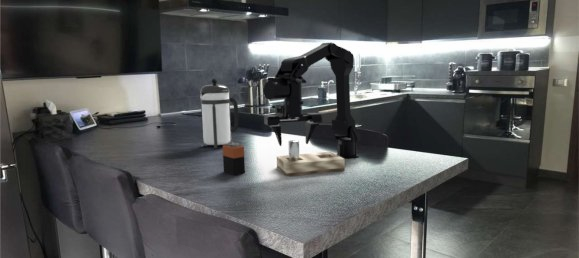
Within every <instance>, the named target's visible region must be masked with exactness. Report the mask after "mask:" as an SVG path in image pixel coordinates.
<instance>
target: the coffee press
mask: <svg viewBox="0 0 579 258" xmlns="http://www.w3.org/2000/svg"><path fill="white" fill-rule="evenodd" d="M217 82H218V80H217V79H216V78H212V80H211V83H212V84H206V85H203V86H201V88H200V90H199V93H200V95H199V96H200V108H201V109H200V110H201V112H200V113H201V128H202V129H201V130H202V132H201V133H202V142H201V143H200V147H204V145H209V146H213V149H214V150H218V146H220V145H222V146H223V145H227V144H228V143H229V142H232V144H233V143H235V142H234V141H233V139H232V133H235V132H236V131H237V130H238V127H239V121H240V120H239V107H238V102H237V100H236V99H235V98H233V97H230V92H231V91H230V89H229V87H228V86H227V85H226V84H217ZM231 103H232V106H233V115H234V116H233V118H234V120H233V121H234V124H233V127H232V126H231V123H232V120H231V119H232V118H231ZM202 143H204V145H202Z"/></svg>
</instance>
